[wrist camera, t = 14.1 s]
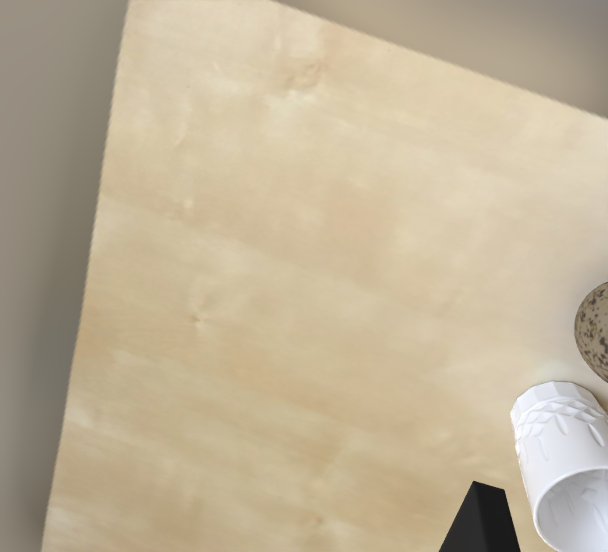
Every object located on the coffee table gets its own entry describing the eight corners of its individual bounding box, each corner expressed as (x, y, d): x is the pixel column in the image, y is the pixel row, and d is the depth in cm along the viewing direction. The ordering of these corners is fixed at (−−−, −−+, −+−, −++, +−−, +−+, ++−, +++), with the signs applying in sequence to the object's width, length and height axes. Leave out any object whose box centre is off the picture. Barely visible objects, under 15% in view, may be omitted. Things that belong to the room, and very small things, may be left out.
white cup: (496, 380, 41) (528, 471, 32) (606, 367, 39) (672, 461, 30) (507, 459, 43) (539, 564, 34) (610, 450, 42) (672, 560, 32)
